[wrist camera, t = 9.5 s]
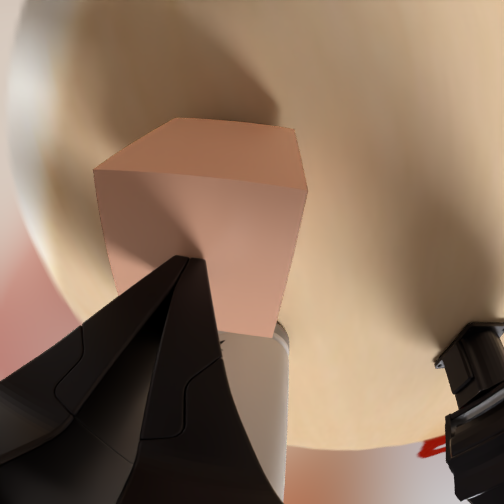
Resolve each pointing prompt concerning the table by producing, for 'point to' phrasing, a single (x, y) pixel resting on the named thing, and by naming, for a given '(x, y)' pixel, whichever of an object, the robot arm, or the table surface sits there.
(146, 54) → the table surface
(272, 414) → the travel mug
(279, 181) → the pink foam cube
